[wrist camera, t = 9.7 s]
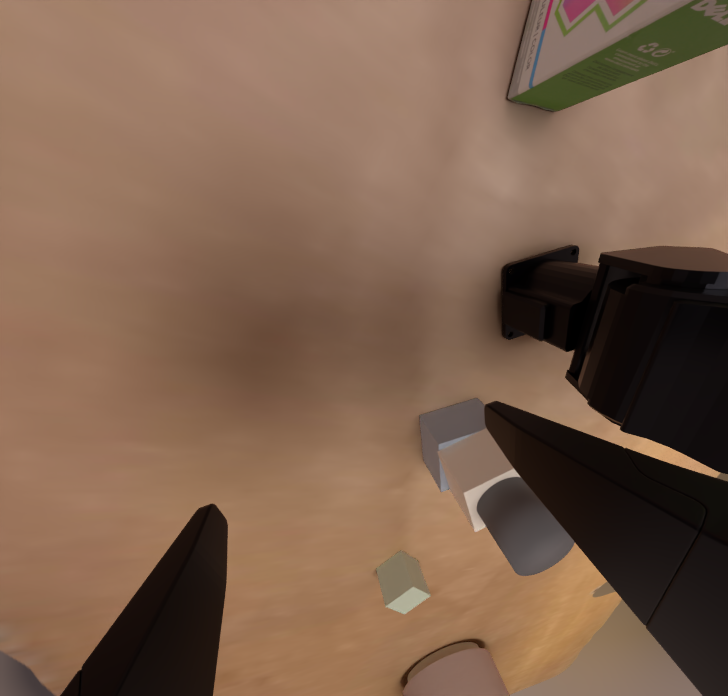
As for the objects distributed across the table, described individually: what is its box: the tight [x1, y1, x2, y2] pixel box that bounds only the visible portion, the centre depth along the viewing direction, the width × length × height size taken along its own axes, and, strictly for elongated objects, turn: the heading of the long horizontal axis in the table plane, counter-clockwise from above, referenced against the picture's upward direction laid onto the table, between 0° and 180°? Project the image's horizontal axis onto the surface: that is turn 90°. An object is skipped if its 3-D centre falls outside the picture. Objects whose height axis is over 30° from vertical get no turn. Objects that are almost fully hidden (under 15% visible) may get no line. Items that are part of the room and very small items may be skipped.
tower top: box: [437, 428, 520, 532], centre depth 23 cm, size 5×5×4 cm
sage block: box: [376, 550, 431, 614], centre depth 34 cm, size 4×4×4 cm
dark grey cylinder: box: [477, 477, 575, 576], centre depth 20 cm, size 4×4×4 cm
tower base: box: [419, 398, 486, 492], centre depth 27 cm, size 6×6×4 cm
